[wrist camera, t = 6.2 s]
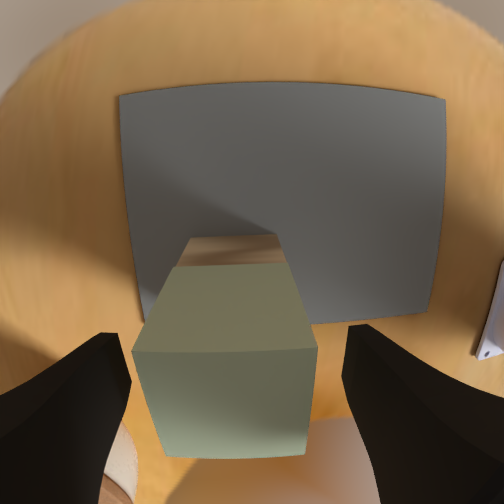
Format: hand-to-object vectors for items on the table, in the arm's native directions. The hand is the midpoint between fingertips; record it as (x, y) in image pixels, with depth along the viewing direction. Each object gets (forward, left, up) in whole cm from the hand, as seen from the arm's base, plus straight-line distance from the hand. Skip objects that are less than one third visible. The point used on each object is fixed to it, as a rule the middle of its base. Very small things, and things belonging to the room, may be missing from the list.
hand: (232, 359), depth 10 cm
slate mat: (-3, -3, -7) cm, 8 cm away
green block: (0, 0, -2) cm, 3 cm away
